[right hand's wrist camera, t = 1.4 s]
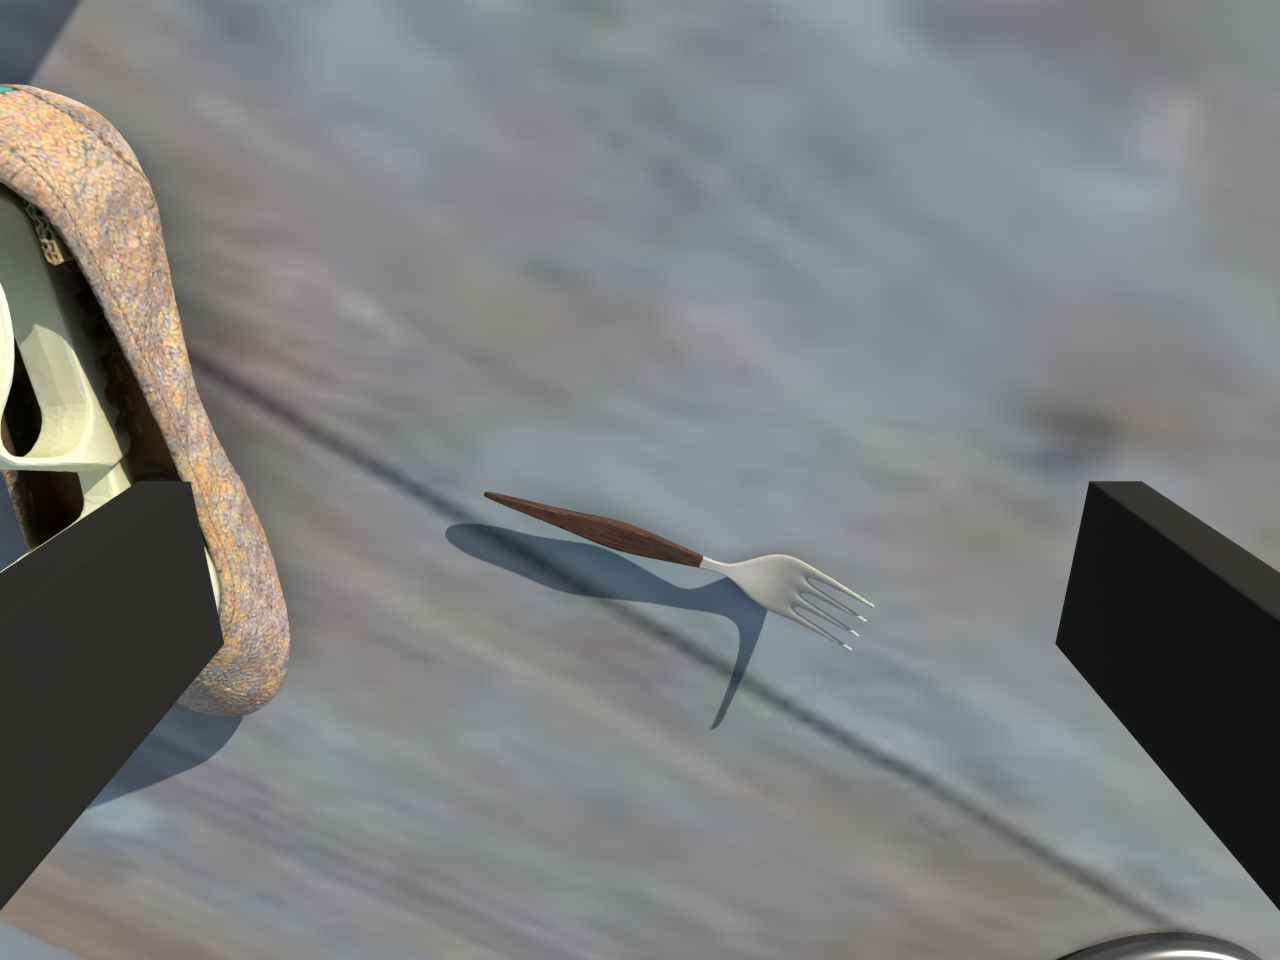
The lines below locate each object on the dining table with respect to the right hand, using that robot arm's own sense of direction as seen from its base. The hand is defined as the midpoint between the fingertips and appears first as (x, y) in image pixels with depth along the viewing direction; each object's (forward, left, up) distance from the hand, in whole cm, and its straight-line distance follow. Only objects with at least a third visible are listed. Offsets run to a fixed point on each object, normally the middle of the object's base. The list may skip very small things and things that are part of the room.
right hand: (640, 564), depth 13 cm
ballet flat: (-7, +19, -20) cm, 28 cm away
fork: (-9, -2, -20) cm, 22 cm away
